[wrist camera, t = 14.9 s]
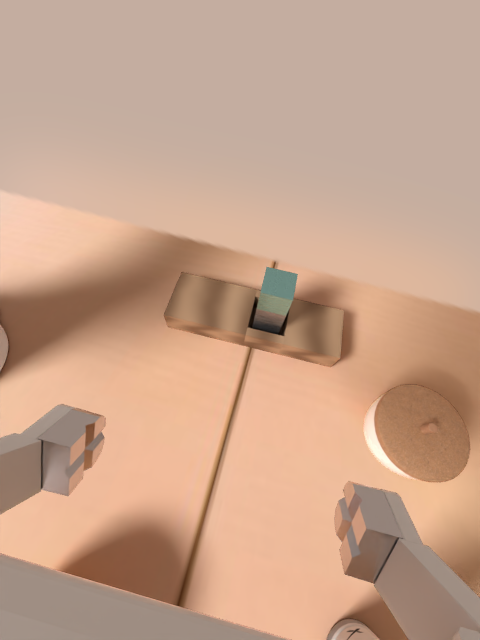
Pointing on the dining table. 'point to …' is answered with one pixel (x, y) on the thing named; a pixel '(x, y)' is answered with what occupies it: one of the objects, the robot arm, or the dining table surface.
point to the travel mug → (351, 631)
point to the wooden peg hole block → (238, 316)
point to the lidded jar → (417, 434)
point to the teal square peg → (274, 300)
